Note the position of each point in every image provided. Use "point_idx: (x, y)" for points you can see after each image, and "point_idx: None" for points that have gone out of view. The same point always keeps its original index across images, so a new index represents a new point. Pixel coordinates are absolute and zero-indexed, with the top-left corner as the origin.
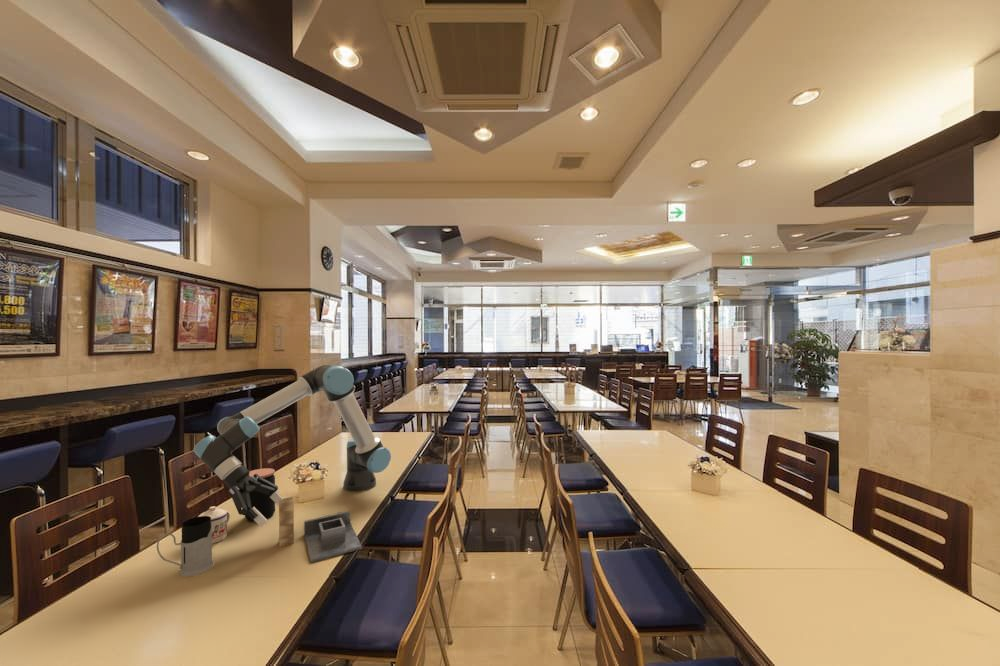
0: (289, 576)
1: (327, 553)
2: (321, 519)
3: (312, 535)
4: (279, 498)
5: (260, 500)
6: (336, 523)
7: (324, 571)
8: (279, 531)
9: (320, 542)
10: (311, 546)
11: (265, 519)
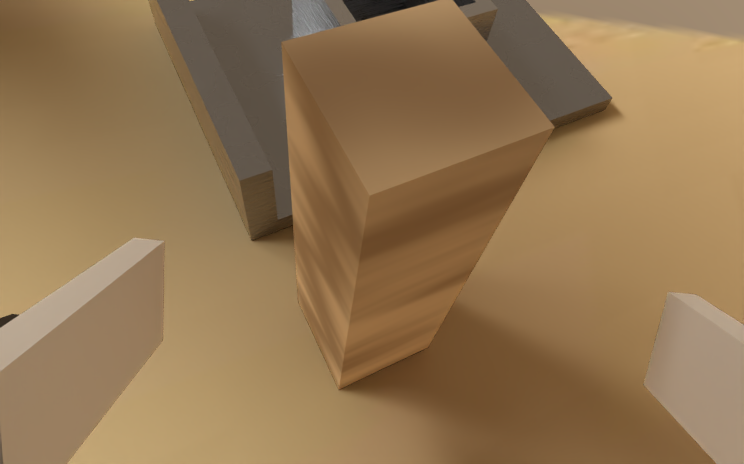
0: (734, 167)
1: (543, 44)
2: (226, 79)
3: None
4: (98, 320)
5: None
6: None
7: (661, 44)
8: (409, 327)
9: None
10: None
11: (700, 304)
